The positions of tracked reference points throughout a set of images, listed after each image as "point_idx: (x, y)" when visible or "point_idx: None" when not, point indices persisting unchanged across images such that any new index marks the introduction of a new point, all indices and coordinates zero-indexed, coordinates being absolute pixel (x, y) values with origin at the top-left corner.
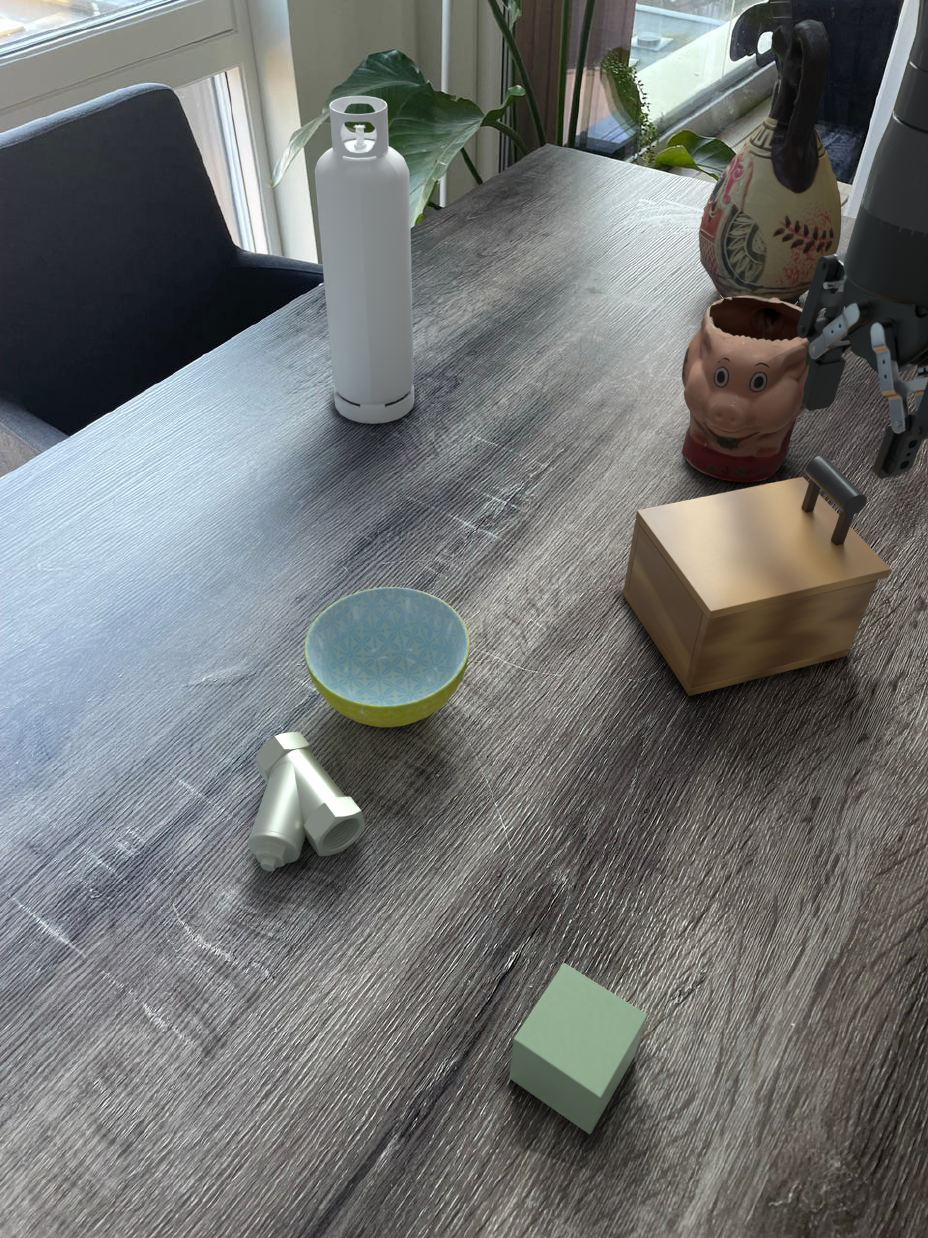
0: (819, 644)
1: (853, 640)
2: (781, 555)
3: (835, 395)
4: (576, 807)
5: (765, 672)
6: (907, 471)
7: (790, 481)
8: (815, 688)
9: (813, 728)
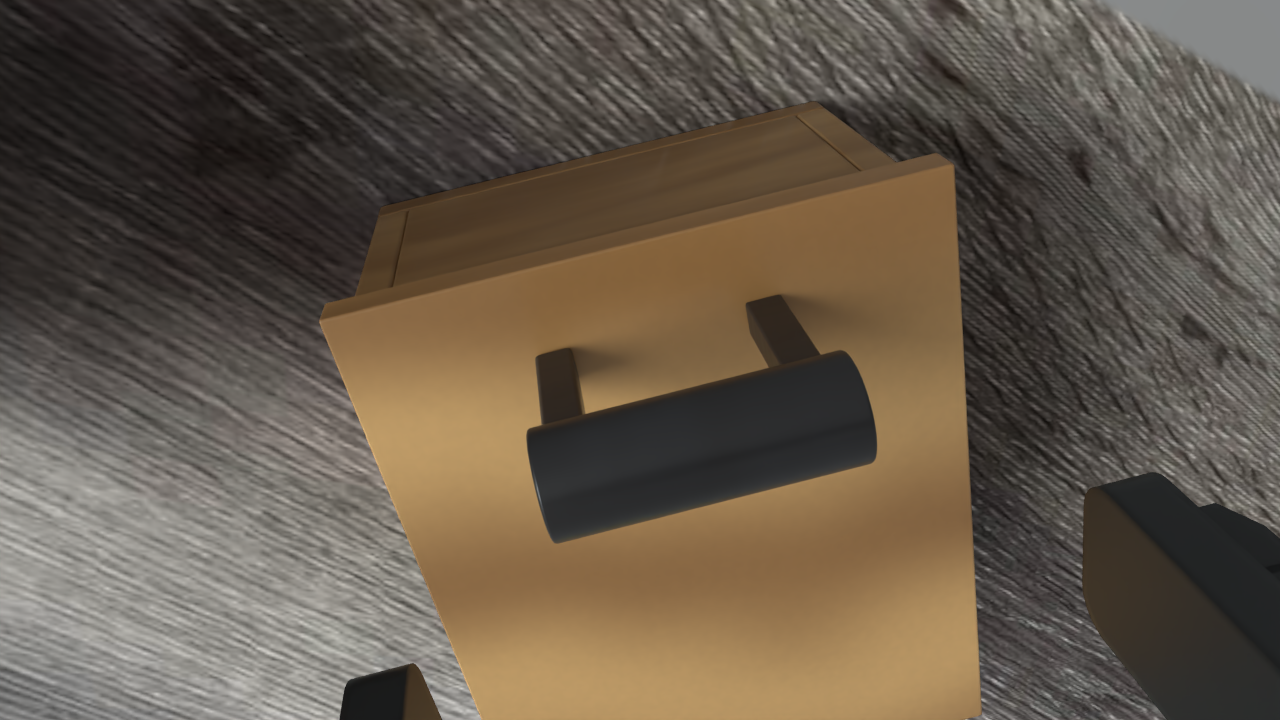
0: None
1: (834, 115)
2: (802, 510)
3: (403, 709)
4: (1053, 705)
5: None
6: (1218, 505)
7: (361, 381)
8: None
9: (1018, 272)
